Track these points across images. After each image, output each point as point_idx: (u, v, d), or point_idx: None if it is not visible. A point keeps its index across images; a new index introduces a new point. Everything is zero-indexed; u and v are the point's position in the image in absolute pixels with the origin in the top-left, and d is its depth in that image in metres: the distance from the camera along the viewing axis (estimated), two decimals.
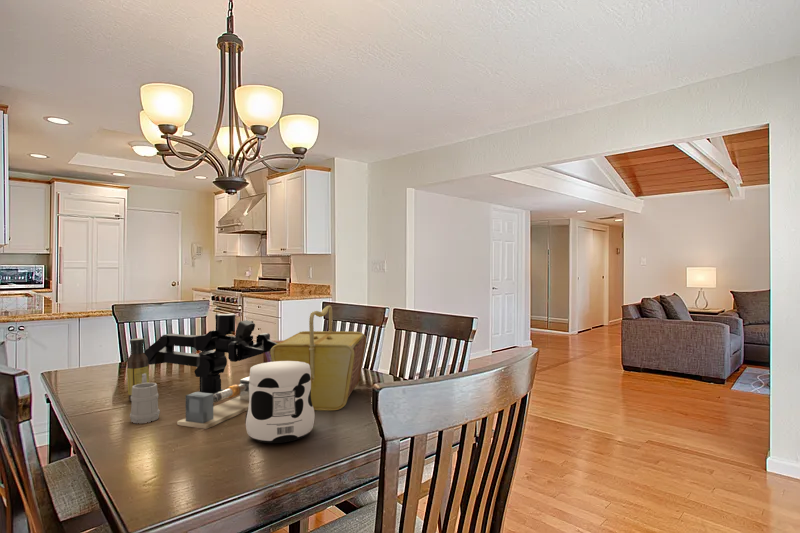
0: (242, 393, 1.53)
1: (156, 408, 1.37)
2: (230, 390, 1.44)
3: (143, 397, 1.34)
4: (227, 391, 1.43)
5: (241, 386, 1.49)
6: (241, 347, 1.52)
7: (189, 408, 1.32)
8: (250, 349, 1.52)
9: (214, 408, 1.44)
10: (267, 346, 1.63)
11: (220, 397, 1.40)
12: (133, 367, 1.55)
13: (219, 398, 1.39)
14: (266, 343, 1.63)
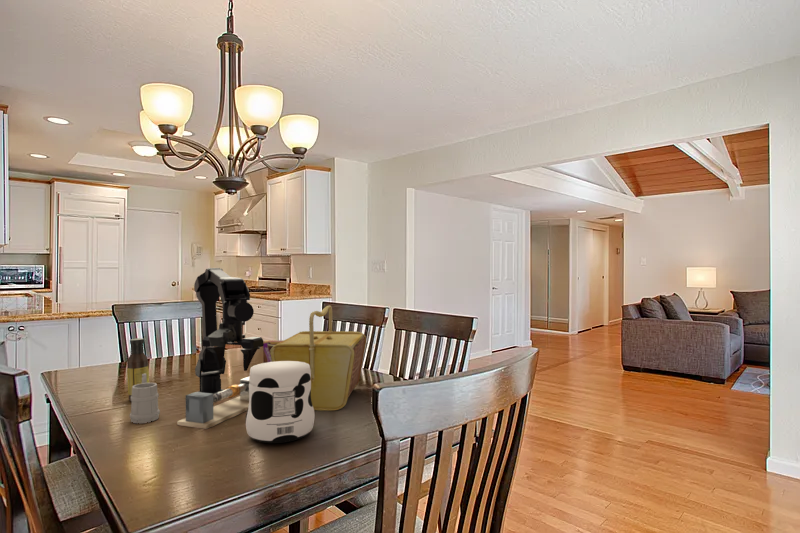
0: (242, 393, 1.53)
1: (156, 408, 1.37)
2: (230, 390, 1.44)
3: (143, 397, 1.34)
4: (227, 391, 1.43)
5: (241, 386, 1.49)
6: None
7: (189, 408, 1.32)
8: None
9: (214, 408, 1.44)
10: None
11: (220, 397, 1.40)
12: (133, 367, 1.55)
13: (219, 398, 1.39)
14: None
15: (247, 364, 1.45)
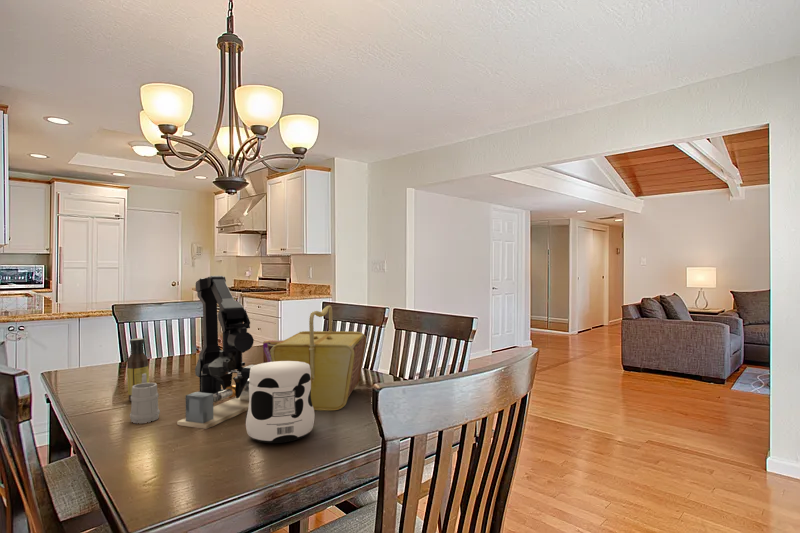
0: (242, 393, 1.53)
1: (156, 408, 1.37)
2: (230, 390, 1.44)
3: (143, 397, 1.34)
4: (227, 391, 1.43)
5: None
6: None
7: (189, 408, 1.32)
8: None
9: (214, 408, 1.44)
10: None
11: (220, 397, 1.40)
12: (133, 367, 1.55)
13: (219, 398, 1.39)
14: None
15: (239, 392, 1.46)
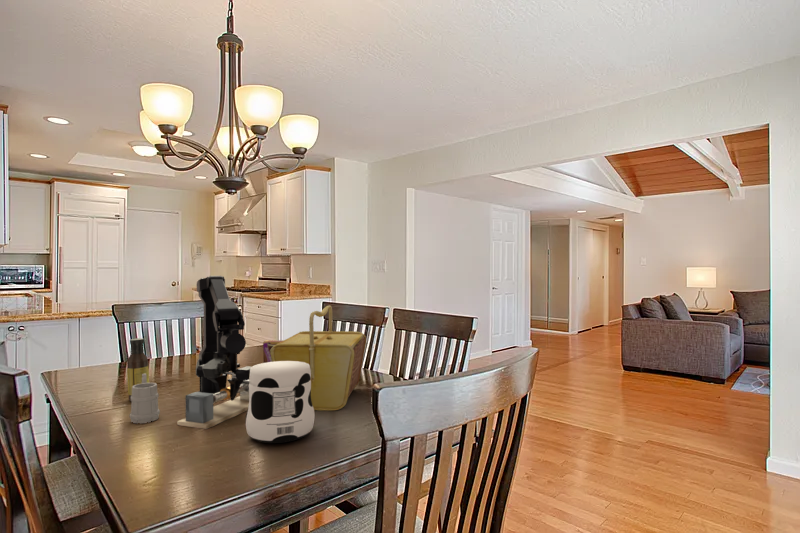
0: (242, 393, 1.53)
1: (156, 408, 1.37)
2: (225, 392, 1.42)
3: (143, 397, 1.34)
4: (221, 393, 1.41)
5: None
6: None
7: (189, 408, 1.32)
8: None
9: (214, 408, 1.44)
10: None
11: (214, 399, 1.37)
12: (133, 367, 1.55)
13: (213, 400, 1.37)
14: None
15: (234, 394, 1.43)
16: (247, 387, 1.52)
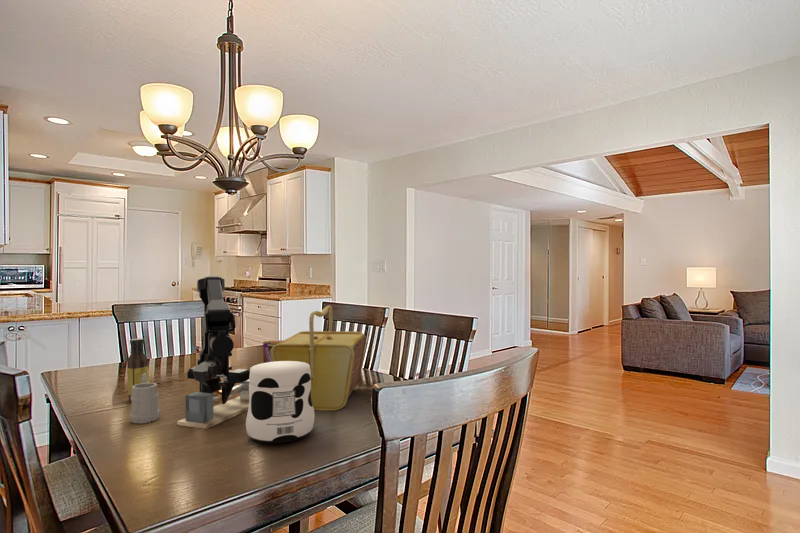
0: (242, 393, 1.53)
1: (156, 408, 1.37)
2: (216, 395, 1.39)
3: (143, 397, 1.34)
4: (213, 396, 1.37)
5: None
6: None
7: (189, 408, 1.32)
8: None
9: (214, 408, 1.44)
10: None
11: None
12: (133, 367, 1.55)
13: None
14: None
15: (226, 397, 1.40)
16: (239, 390, 1.48)
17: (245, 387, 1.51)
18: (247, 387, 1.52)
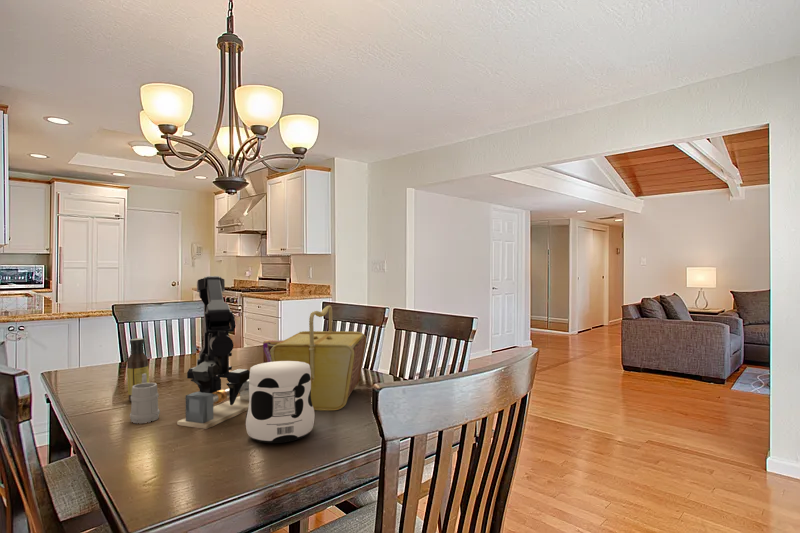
0: (242, 393, 1.53)
1: (156, 408, 1.37)
2: (216, 395, 1.39)
3: (143, 397, 1.34)
4: (213, 396, 1.37)
5: (228, 391, 1.43)
6: None
7: (189, 408, 1.32)
8: None
9: (214, 408, 1.44)
10: None
11: None
12: (133, 367, 1.55)
13: None
14: None
15: (233, 398, 1.39)
16: None
17: (245, 387, 1.50)
18: (247, 387, 1.51)
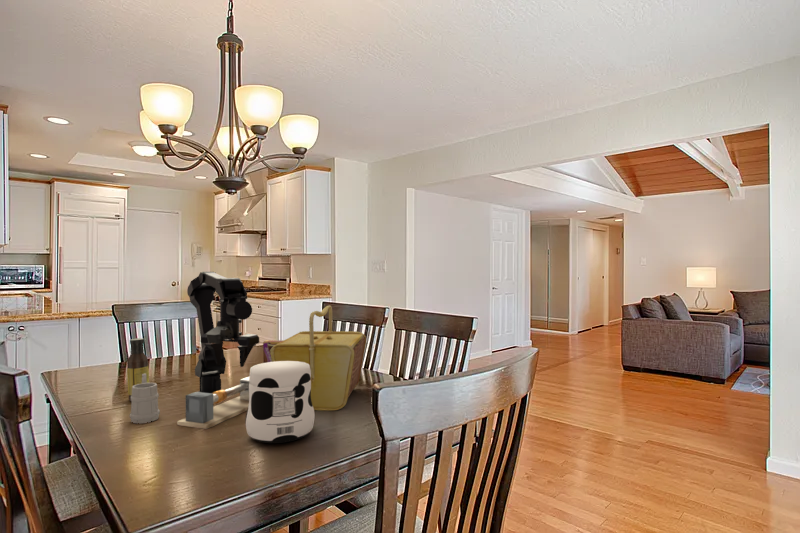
0: (242, 393, 1.53)
1: (156, 408, 1.37)
2: (216, 395, 1.39)
3: (143, 397, 1.34)
4: (213, 396, 1.37)
5: (228, 391, 1.43)
6: None
7: (189, 408, 1.32)
8: None
9: (214, 408, 1.44)
10: None
11: None
12: (133, 367, 1.55)
13: None
14: None
15: (243, 360, 1.51)
16: (239, 390, 1.48)
17: (245, 387, 1.50)
18: (247, 387, 1.51)
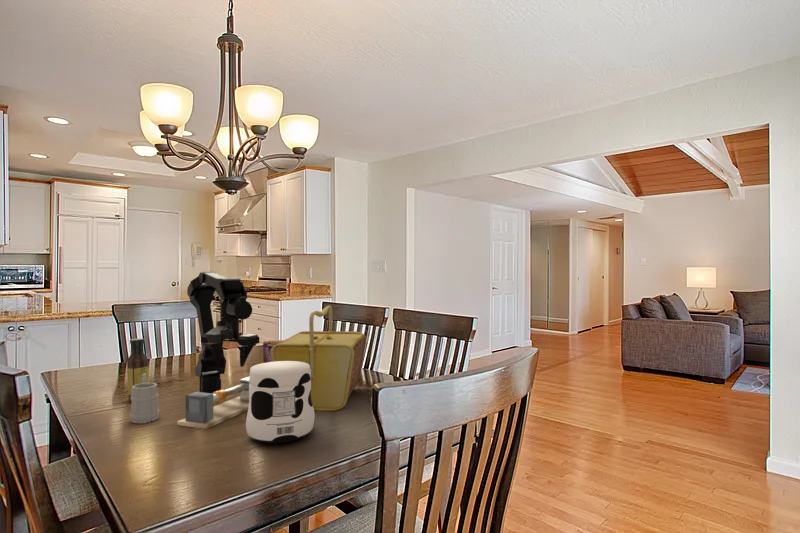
0: (242, 393, 1.53)
1: (156, 408, 1.37)
2: (216, 395, 1.39)
3: (143, 397, 1.34)
4: (213, 396, 1.37)
5: (228, 391, 1.43)
6: None
7: (189, 408, 1.32)
8: None
9: (214, 408, 1.44)
10: None
11: None
12: (133, 367, 1.55)
13: None
14: None
15: (243, 360, 1.51)
16: (239, 390, 1.48)
17: (245, 387, 1.50)
18: (247, 387, 1.51)
